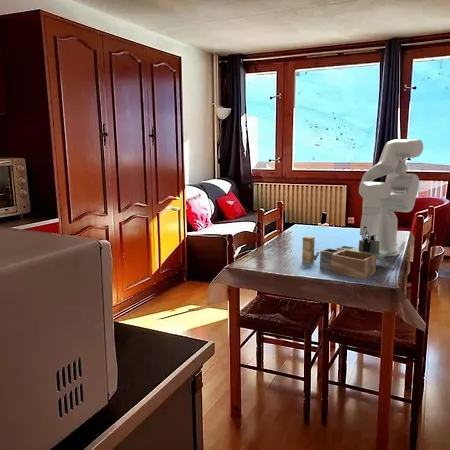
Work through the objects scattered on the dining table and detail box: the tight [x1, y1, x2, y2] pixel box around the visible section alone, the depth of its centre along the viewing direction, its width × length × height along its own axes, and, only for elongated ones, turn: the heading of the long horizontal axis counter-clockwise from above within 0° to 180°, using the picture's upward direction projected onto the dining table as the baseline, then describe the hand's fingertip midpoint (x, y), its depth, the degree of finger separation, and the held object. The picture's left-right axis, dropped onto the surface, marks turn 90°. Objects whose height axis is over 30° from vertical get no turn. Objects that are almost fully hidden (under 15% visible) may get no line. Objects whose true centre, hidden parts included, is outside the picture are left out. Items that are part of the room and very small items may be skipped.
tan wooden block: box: [301, 235, 316, 264], centre depth 205 cm, size 4×4×12 cm
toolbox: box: [319, 247, 377, 280], centre depth 190 cm, size 12×22×8 cm, turn 47°
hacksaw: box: [314, 248, 320, 261], centre depth 221 cm, size 24×10×2 cm, turn 161°
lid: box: [336, 238, 390, 260], centre depth 201 cm, size 12×22×6 cm, turn 47°
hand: (368, 249), depth 199 cm, fingers closed on lid, 4 cm apart
